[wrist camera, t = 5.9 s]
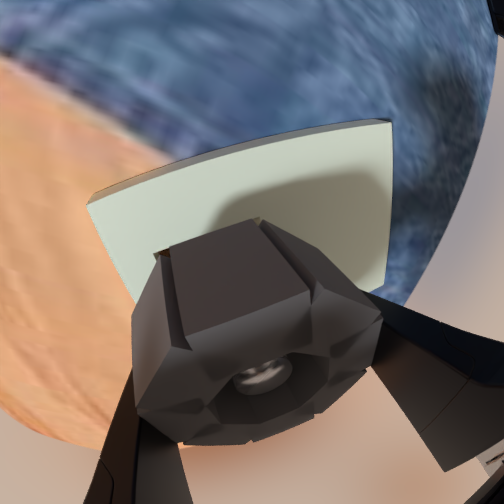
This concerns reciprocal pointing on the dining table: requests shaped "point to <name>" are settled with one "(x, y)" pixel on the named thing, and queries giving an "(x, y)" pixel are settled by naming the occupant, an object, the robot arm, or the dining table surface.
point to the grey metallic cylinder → (263, 377)
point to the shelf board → (261, 199)
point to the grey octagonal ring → (246, 334)
